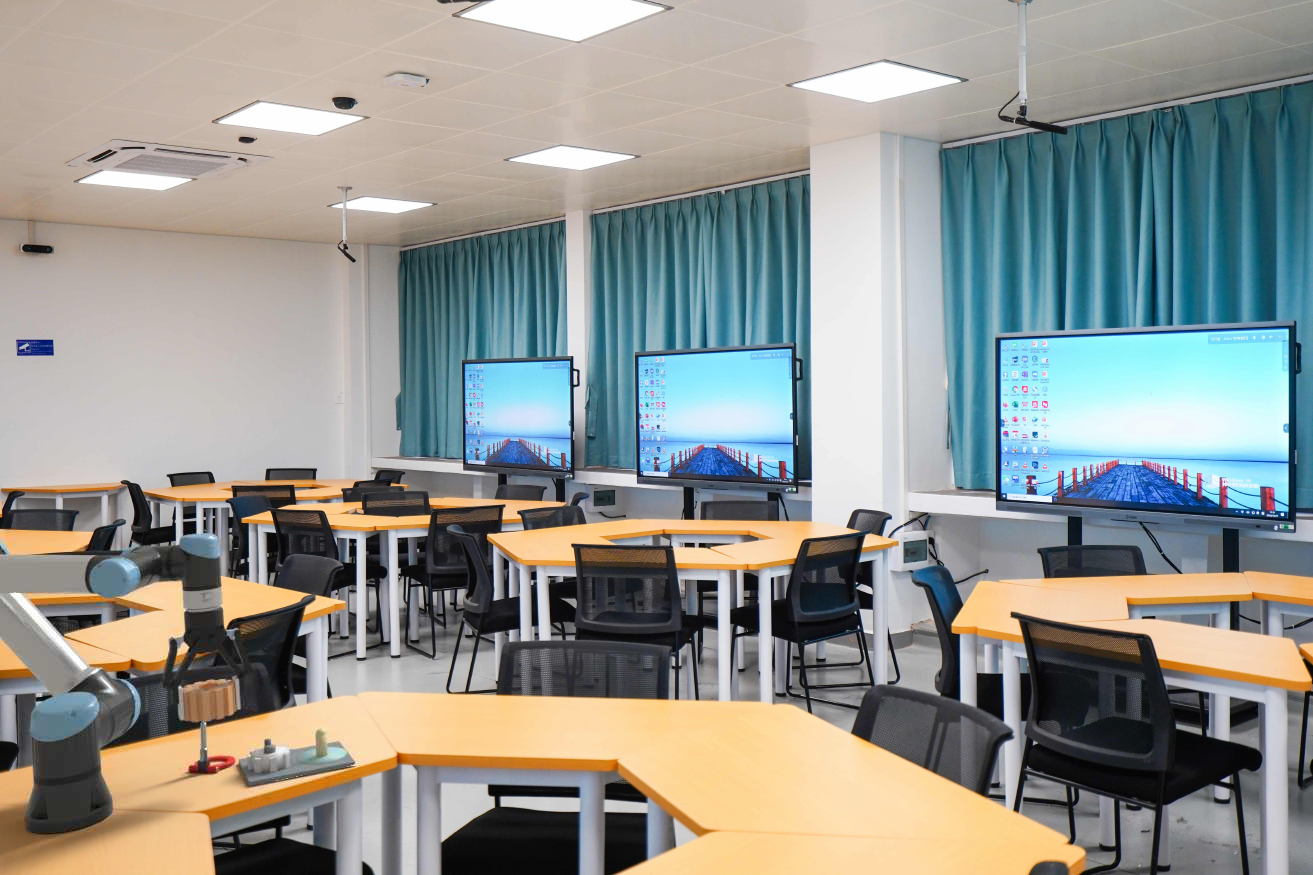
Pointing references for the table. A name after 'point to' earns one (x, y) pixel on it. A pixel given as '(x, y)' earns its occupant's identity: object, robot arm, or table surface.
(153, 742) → the table surface
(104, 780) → the robot arm
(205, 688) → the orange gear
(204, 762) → the tow hook
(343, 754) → the gear board
